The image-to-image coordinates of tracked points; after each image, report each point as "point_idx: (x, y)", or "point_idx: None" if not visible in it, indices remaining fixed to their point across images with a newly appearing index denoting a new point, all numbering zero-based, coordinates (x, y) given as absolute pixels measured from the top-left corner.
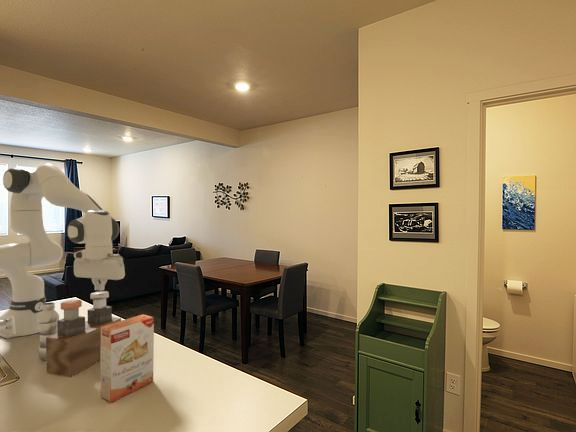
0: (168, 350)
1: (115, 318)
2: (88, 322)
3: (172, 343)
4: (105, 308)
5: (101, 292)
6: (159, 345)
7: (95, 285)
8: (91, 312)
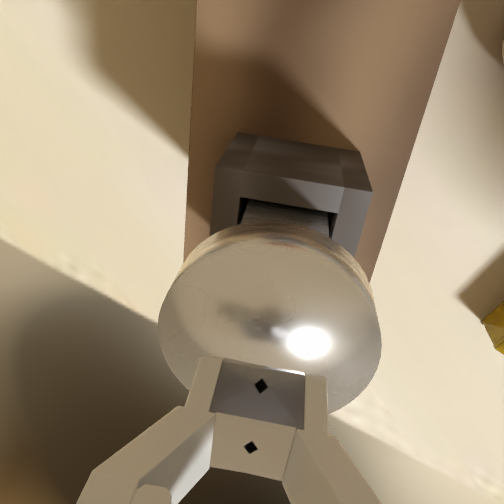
0: (11, 193)
1: None
2: (352, 152)
3: (45, 257)
4: None
5: None
6: (82, 236)
7: (304, 431)
8: (321, 175)
